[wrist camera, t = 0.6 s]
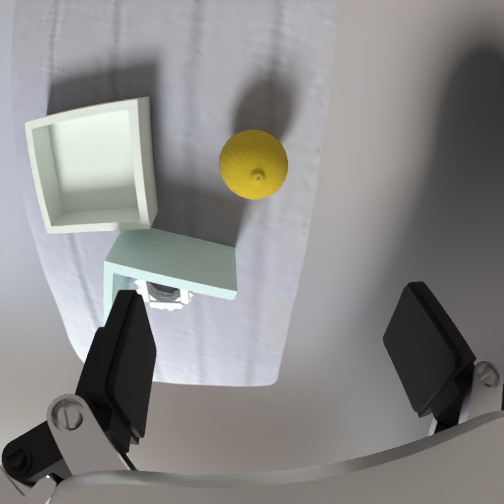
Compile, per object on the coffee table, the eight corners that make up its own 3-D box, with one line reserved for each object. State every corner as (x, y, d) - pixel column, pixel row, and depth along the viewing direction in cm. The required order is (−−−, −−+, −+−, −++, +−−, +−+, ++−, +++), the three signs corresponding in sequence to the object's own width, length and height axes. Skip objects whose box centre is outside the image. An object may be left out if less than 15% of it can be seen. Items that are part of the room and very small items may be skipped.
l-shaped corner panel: (120, 302, 36) (105, 346, 29) (127, 221, 30) (104, 260, 24) (209, 322, 38) (207, 368, 32) (234, 246, 33) (237, 291, 26)
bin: (46, 115, 22) (24, 122, 19) (149, 96, 23) (137, 99, 20) (63, 216, 29) (47, 233, 25) (158, 210, 29) (150, 228, 26)
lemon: (234, 188, 29) (237, 225, 22) (210, 138, 26) (204, 159, 19) (287, 166, 28) (307, 197, 21) (266, 114, 25) (281, 127, 18)
